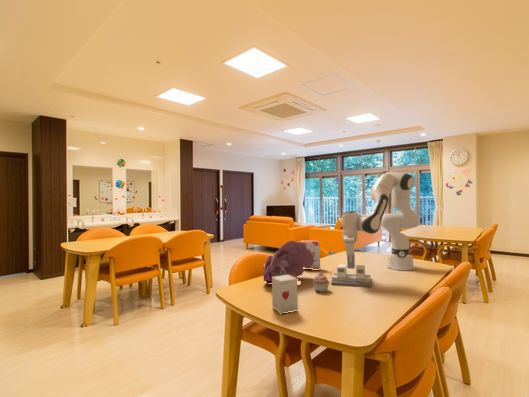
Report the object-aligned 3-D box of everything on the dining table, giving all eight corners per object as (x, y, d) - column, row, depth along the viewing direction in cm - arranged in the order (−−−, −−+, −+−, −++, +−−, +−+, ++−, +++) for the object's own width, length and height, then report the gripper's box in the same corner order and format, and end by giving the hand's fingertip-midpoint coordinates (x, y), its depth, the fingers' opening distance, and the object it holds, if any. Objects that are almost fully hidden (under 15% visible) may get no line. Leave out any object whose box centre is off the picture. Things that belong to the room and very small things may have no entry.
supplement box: (280, 315, 125) (279, 281, 126) (272, 308, 134) (271, 276, 134) (298, 311, 129) (297, 278, 129) (289, 305, 137) (288, 274, 138)
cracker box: (299, 269, 208) (298, 241, 208) (301, 268, 213) (300, 240, 214) (319, 271, 202) (317, 241, 203) (320, 269, 208) (319, 240, 208)
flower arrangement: (286, 301, 157) (291, 252, 152) (251, 287, 170) (255, 242, 165) (312, 279, 186) (317, 238, 181) (281, 269, 199) (284, 230, 194)
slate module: (348, 266, 177) (347, 251, 177) (354, 266, 175) (354, 251, 176) (347, 268, 171) (347, 253, 171) (354, 268, 170) (354, 253, 170)
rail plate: (334, 276, 186) (334, 262, 186) (370, 278, 179) (369, 263, 179) (331, 284, 168) (330, 269, 168) (371, 287, 161) (370, 270, 161)
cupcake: (311, 292, 155) (310, 274, 155) (314, 287, 164) (313, 270, 164) (328, 294, 152) (328, 275, 152) (331, 288, 160) (330, 271, 161)
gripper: (345, 235, 184) (346, 257, 184) (343, 239, 165) (344, 263, 165) (355, 235, 182) (356, 257, 182) (355, 239, 163) (356, 264, 163)
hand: (351, 260), depth 173 cm, fingers closed on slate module, 6 cm apart
